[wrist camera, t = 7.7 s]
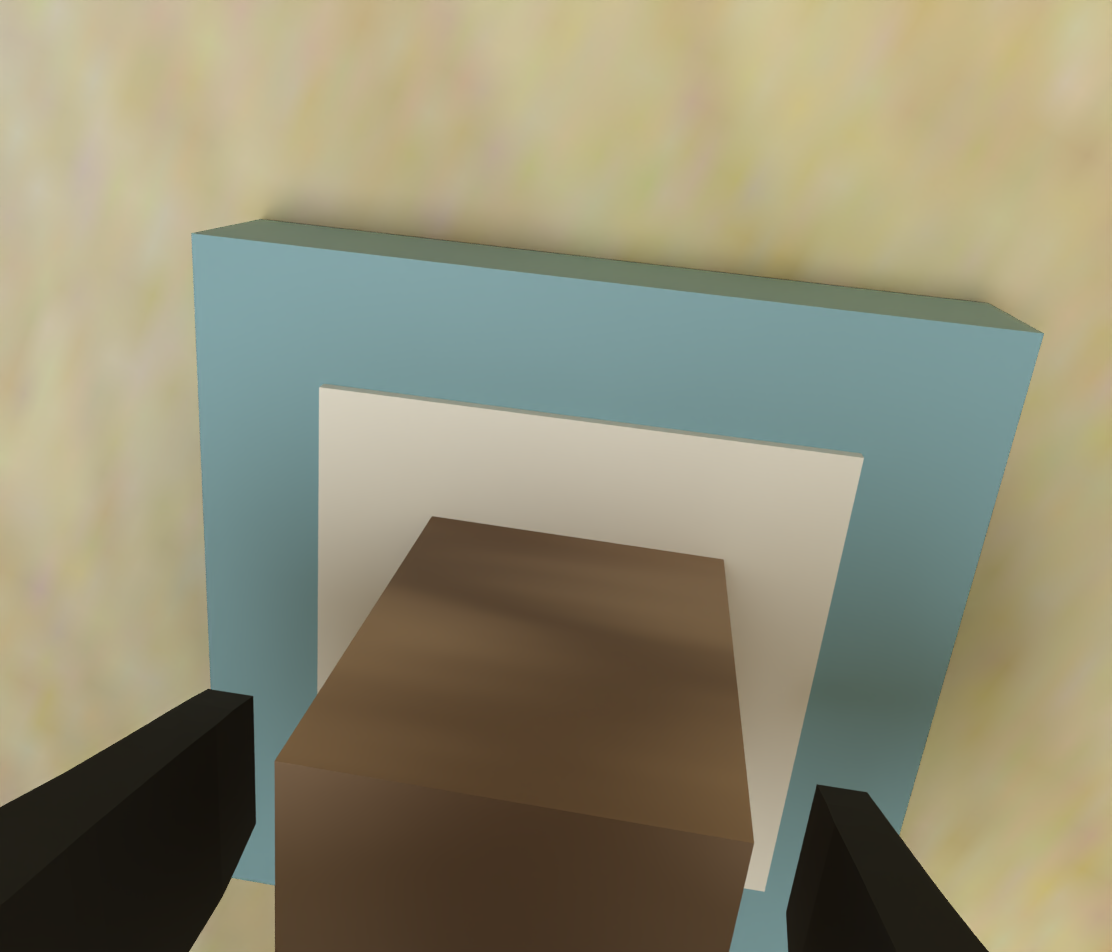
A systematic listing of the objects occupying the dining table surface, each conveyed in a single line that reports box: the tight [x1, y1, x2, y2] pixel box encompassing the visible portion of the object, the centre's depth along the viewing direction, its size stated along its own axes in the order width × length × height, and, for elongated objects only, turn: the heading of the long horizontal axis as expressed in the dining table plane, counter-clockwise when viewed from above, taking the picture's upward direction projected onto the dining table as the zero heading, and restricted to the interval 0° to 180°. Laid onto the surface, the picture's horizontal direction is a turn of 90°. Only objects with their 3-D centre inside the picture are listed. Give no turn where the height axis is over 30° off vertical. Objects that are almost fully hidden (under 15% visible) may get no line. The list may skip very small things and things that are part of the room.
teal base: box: [191, 219, 1044, 952], centre depth 16 cm, size 12×12×3 cm
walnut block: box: [274, 516, 754, 952], centre depth 12 cm, size 4×4×6 cm
